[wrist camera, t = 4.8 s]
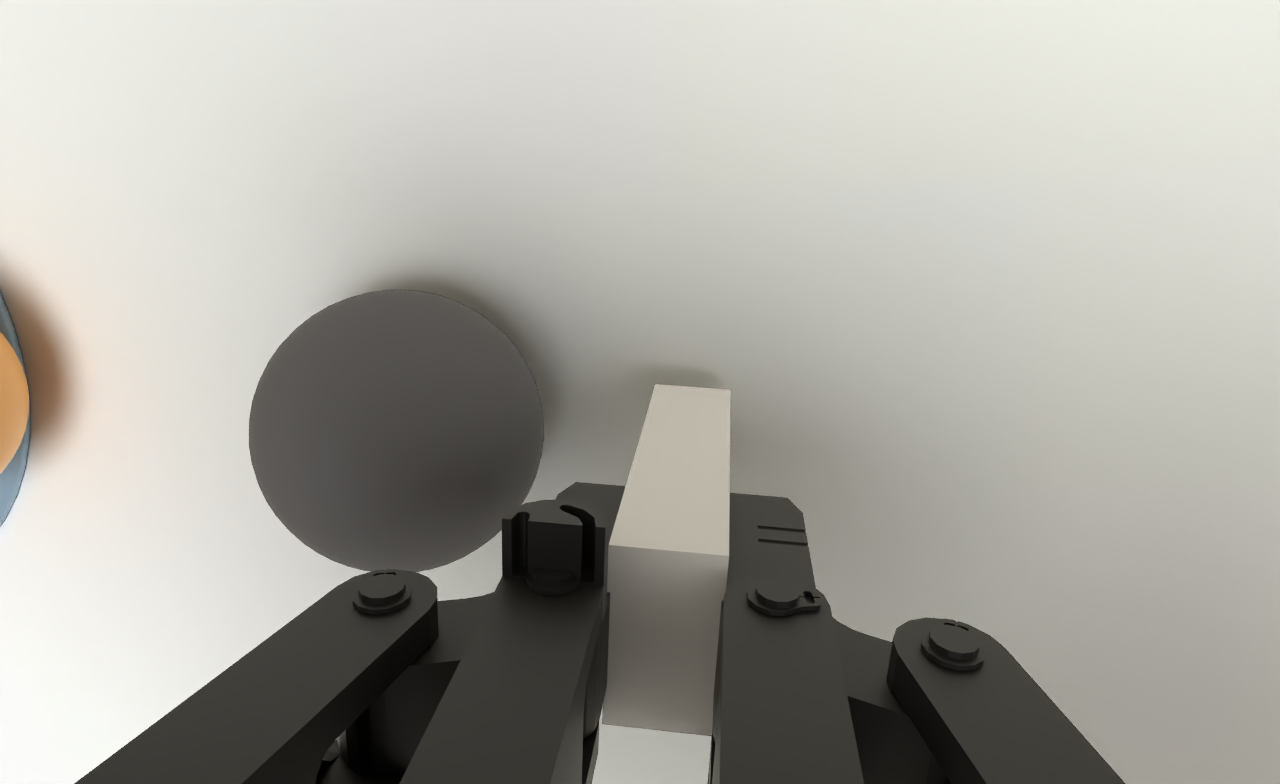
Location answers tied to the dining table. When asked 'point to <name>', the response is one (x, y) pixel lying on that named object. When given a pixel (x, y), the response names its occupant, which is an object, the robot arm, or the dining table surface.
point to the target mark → (6, 485)
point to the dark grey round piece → (395, 431)
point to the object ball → (11, 403)
